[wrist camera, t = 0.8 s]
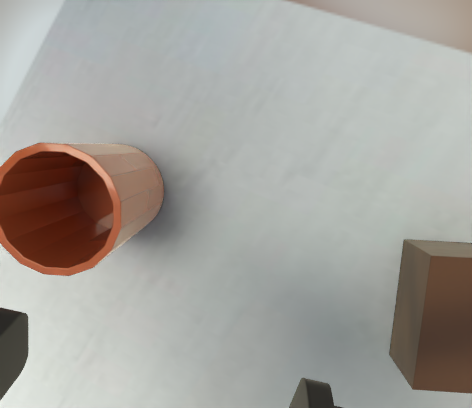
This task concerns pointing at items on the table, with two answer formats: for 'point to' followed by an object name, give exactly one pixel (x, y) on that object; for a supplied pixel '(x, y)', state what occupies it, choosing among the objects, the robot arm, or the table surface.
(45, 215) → the cup
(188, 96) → the table surface
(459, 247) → the block
